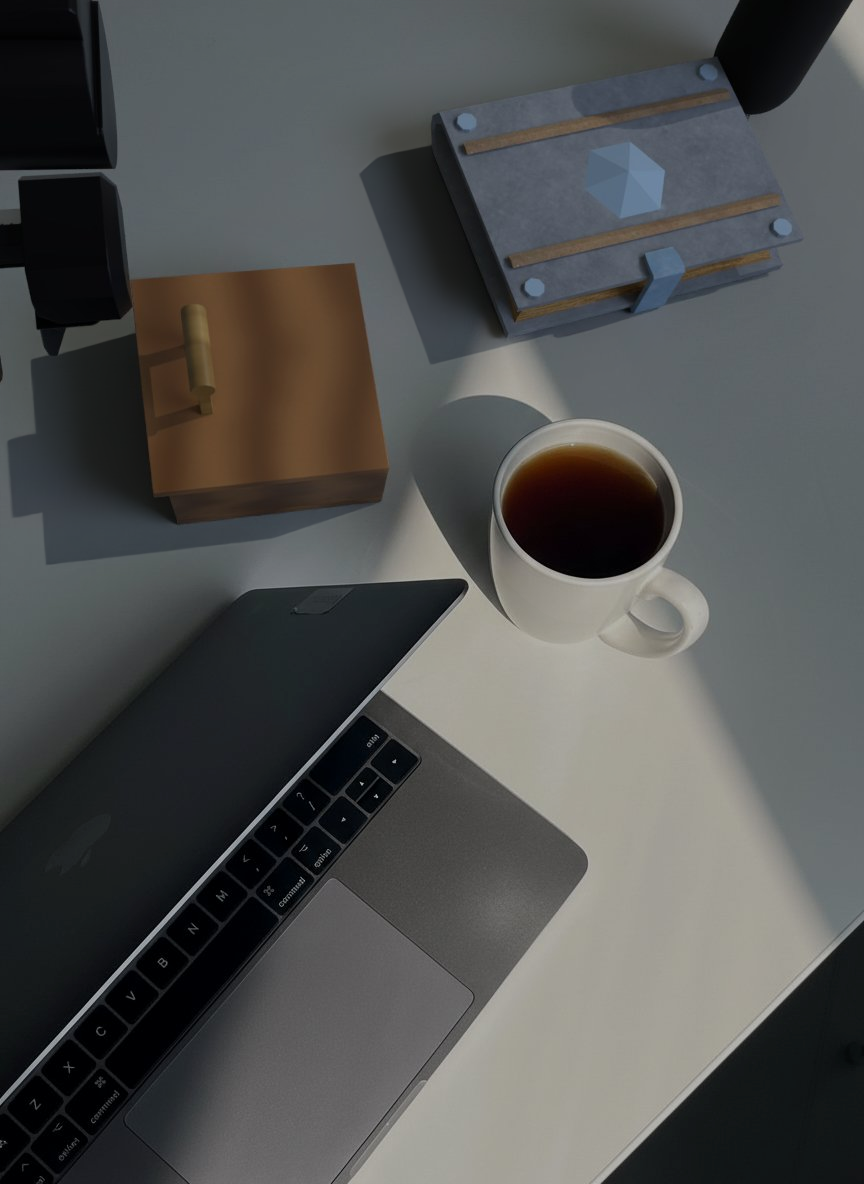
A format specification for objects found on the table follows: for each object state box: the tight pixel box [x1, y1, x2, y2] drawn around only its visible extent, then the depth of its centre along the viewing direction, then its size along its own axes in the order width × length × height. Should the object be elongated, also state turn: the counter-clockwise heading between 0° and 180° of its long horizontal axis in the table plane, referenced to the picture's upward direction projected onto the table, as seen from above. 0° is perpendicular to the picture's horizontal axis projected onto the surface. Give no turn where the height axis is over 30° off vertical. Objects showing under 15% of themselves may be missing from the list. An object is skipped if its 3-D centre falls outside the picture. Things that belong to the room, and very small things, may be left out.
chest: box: [168, 471, 389, 525], centre depth 63 cm, size 13×14×5 cm
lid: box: [130, 262, 390, 498], centre depth 59 cm, size 13×14×5 cm
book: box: [430, 56, 805, 339], centre depth 71 cm, size 21×16×5 cm
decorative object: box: [712, 0, 854, 116], centre depth 70 cm, size 7×7×15 cm
